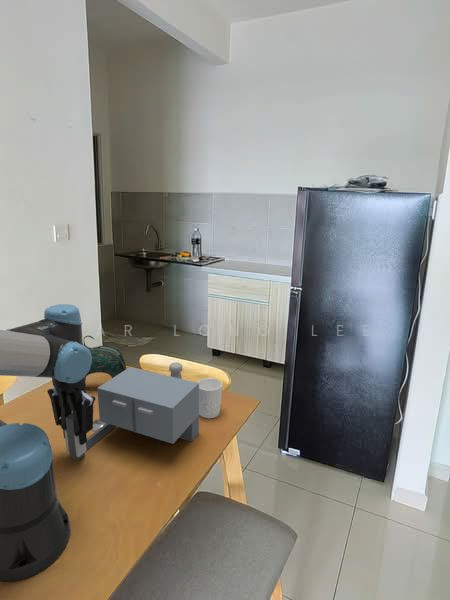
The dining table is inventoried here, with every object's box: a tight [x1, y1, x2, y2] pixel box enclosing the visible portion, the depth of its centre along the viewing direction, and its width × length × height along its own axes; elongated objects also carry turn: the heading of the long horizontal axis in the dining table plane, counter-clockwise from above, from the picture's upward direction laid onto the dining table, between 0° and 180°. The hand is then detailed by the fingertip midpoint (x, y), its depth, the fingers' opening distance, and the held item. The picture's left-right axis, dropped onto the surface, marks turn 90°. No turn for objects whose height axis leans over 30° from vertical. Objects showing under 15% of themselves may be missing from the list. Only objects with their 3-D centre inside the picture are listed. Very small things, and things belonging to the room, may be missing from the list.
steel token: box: [91, 418, 106, 432], centre depth 110 cm, size 6×6×1 cm
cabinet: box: [96, 366, 200, 444], centre depth 103 cm, size 15×23×16 cm, turn 67°
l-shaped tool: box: [65, 412, 117, 461], centre depth 102 cm, size 18×2×12 cm, turn 156°
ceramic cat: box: [83, 335, 127, 389], centre depth 128 cm, size 20×6×20 cm, turn 91°
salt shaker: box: [168, 361, 183, 379], centre depth 123 cm, size 6×6×13 cm
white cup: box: [196, 377, 223, 419], centre depth 117 cm, size 8×8×10 cm
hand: (76, 451), depth 97 cm, fingers closed on l-shaped tool, 2 cm apart
